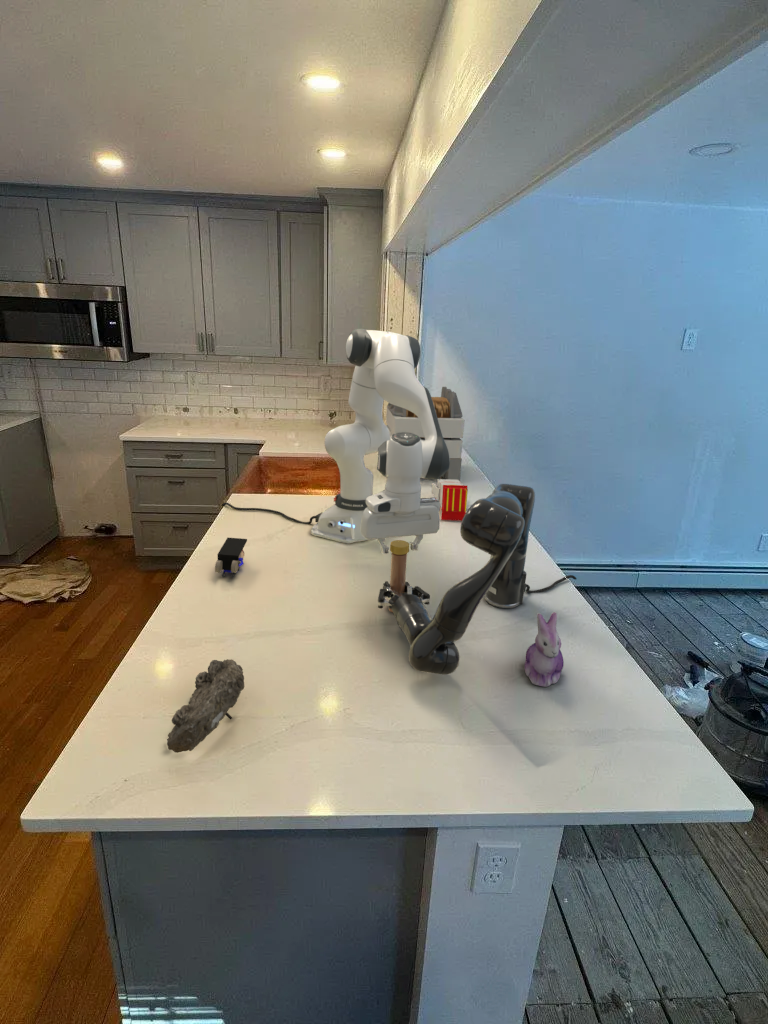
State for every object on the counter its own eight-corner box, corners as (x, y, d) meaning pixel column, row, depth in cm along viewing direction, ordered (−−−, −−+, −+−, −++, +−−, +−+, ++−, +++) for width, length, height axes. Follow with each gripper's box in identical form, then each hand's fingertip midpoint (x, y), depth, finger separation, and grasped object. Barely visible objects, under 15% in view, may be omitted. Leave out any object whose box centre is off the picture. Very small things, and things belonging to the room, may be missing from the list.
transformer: (382, 463, 289) (386, 382, 275) (445, 464, 293) (451, 384, 279) (390, 482, 257) (394, 392, 243) (460, 483, 261) (468, 394, 247)
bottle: (396, 614, 147) (400, 550, 141) (385, 609, 150) (388, 545, 143) (406, 609, 150) (410, 546, 144) (395, 604, 152) (399, 541, 146)
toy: (459, 475, 239) (472, 486, 210) (457, 506, 242) (469, 522, 212) (430, 474, 239) (439, 485, 209) (429, 505, 241) (437, 521, 212)
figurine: (543, 694, 119) (553, 631, 114) (511, 667, 127) (519, 608, 122) (576, 682, 123) (587, 622, 118) (543, 657, 131) (552, 600, 126)
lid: (412, 553, 143) (413, 545, 143) (395, 556, 141) (396, 548, 140) (402, 545, 147) (403, 538, 147) (386, 548, 145) (386, 541, 144)
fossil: (192, 660, 117) (244, 628, 112) (224, 691, 120) (276, 661, 115) (142, 746, 98) (202, 712, 93) (182, 779, 101) (242, 748, 96)
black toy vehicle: (238, 584, 162) (249, 557, 175) (236, 562, 158) (247, 536, 172) (215, 584, 161) (227, 556, 175) (212, 561, 158) (225, 535, 171)
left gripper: (435, 493, 146) (431, 542, 150) (359, 498, 139) (357, 550, 144) (446, 500, 140) (441, 552, 145) (367, 506, 133) (365, 560, 138)
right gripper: (442, 600, 135) (421, 569, 151) (384, 604, 132) (368, 572, 147) (439, 627, 138) (419, 594, 153) (382, 632, 134) (367, 598, 150)
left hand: (399, 551), depth 144 cm, fingers open, 7 cm apart
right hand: (394, 583), depth 150 cm, fingers closed on bottle, 4 cm apart
